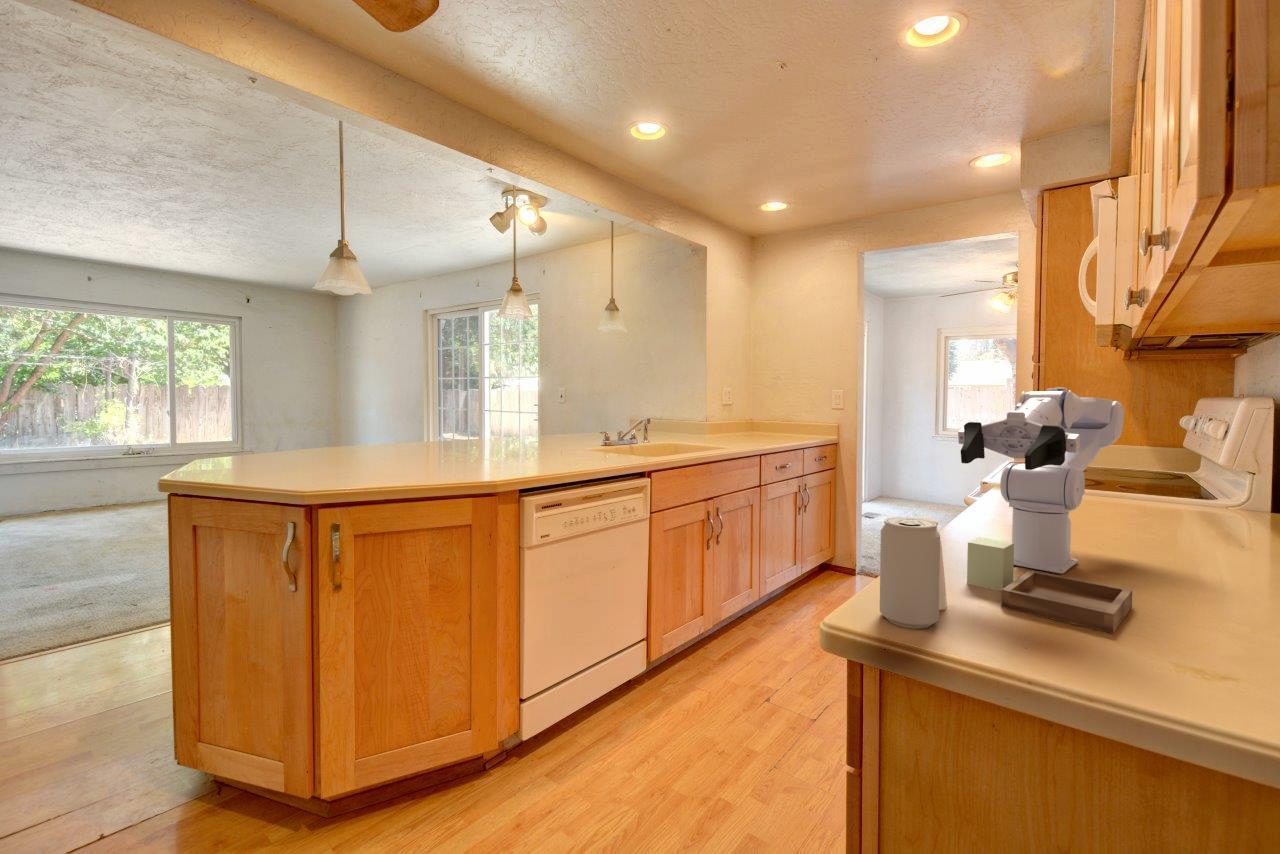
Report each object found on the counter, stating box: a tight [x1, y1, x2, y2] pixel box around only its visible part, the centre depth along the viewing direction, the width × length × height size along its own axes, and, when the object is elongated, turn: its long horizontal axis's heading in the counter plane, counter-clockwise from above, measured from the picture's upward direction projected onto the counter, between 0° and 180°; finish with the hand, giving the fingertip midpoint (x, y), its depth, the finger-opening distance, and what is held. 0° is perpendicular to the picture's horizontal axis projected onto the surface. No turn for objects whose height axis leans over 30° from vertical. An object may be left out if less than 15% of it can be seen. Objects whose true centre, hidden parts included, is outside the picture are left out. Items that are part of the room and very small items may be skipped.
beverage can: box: [879, 516, 941, 630], centre depth 67 cm, size 6×6×12 cm
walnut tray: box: [1000, 570, 1133, 634], centre depth 71 cm, size 12×11×2 cm
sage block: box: [966, 537, 1015, 592], centre depth 80 cm, size 4×4×6 cm
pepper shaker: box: [917, 517, 948, 611], centre depth 72 cm, size 5×5×11 cm
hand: (994, 459), depth 76 cm, fingers open, 7 cm apart
